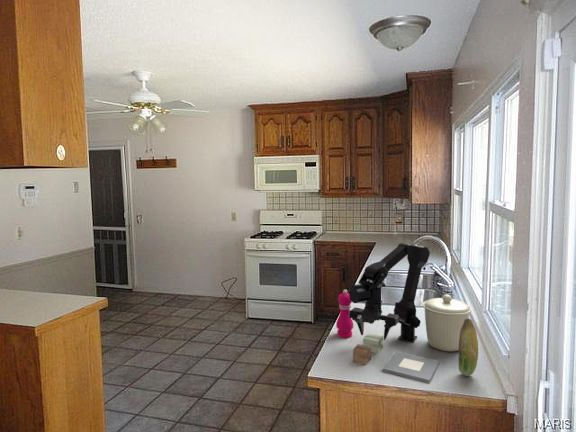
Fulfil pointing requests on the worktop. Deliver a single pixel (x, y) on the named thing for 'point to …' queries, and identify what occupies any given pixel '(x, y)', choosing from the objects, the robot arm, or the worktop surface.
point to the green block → (373, 342)
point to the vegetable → (468, 348)
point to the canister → (445, 321)
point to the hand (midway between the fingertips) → (373, 337)
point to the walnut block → (362, 354)
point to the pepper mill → (344, 316)
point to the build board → (411, 366)
